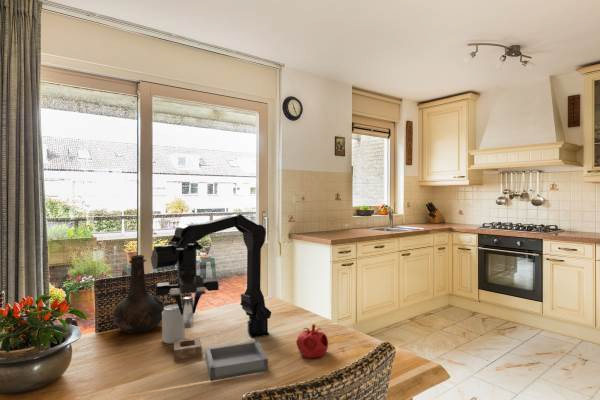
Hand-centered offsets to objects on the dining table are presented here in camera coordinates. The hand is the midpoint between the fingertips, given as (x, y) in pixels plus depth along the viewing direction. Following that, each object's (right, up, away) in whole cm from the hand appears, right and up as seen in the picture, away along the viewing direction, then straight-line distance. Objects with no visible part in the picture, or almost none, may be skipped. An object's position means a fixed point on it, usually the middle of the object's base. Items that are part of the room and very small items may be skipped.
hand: (187, 313), depth 116 cm
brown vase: (-25, -13, +23) cm, 37 cm away
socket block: (0, -13, 0) cm, 13 cm away
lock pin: (0, -4, 0) cm, 4 cm away
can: (-8, -13, +11) cm, 19 cm away
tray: (+16, -13, -8) cm, 22 cm away
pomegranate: (+39, -13, -1) cm, 41 cm away
